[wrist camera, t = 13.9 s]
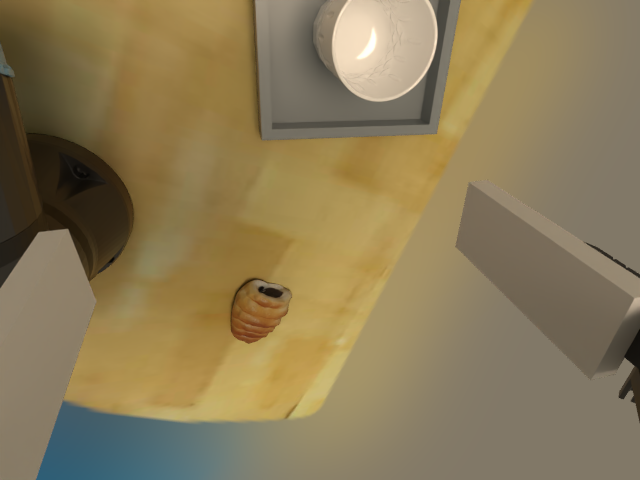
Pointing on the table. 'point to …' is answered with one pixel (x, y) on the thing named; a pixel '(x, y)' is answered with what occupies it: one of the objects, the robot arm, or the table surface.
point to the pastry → (258, 310)
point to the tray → (335, 80)
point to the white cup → (376, 44)
